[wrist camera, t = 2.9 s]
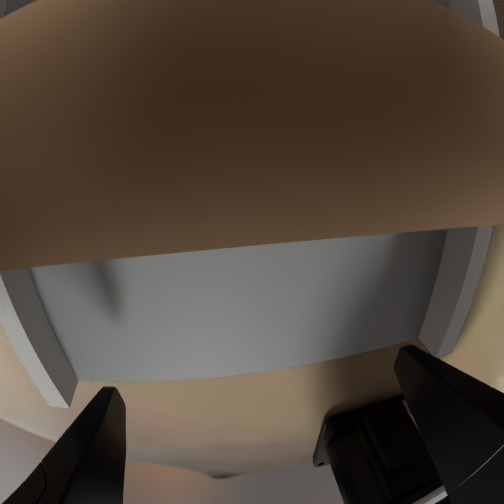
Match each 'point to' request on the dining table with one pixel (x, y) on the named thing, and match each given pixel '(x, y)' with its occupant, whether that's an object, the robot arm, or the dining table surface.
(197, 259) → the rail plate
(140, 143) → the walnut slider
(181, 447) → the dining table surface
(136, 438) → the dining table surface
